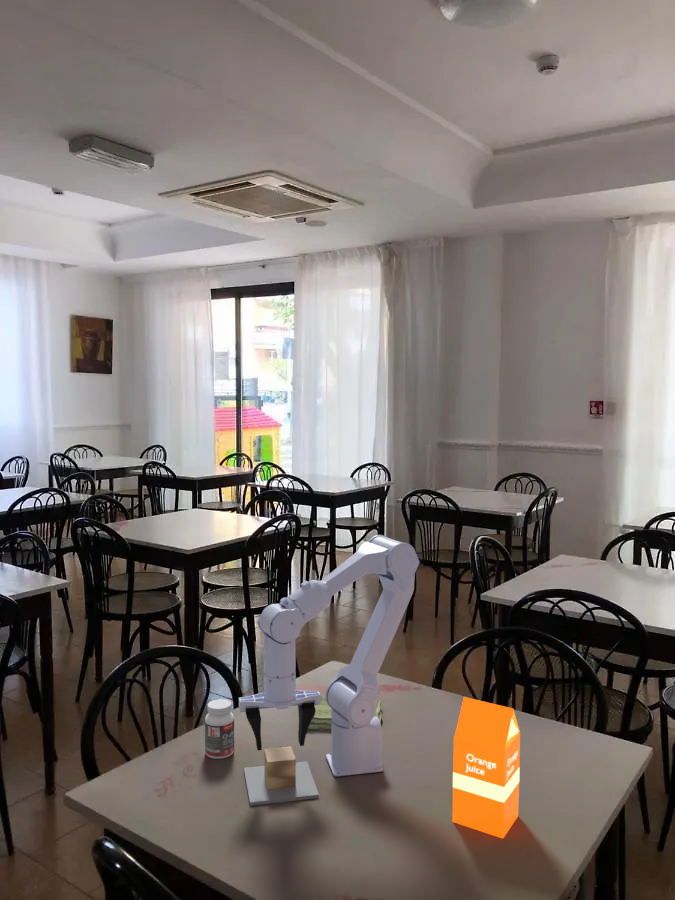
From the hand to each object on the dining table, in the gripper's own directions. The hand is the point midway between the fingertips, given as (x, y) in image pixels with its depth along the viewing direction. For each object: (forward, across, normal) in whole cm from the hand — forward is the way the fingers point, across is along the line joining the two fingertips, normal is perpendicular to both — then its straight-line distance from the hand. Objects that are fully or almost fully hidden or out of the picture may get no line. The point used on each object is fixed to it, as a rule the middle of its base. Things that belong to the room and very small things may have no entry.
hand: (280, 745), depth 134 cm
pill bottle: (+7, -10, +14) cm, 19 cm away
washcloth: (+8, +17, +24) cm, 31 cm away
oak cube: (+7, 0, 0) cm, 7 cm away
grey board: (+7, 0, 0) cm, 7 cm away
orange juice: (+8, +32, -18) cm, 37 cm away
